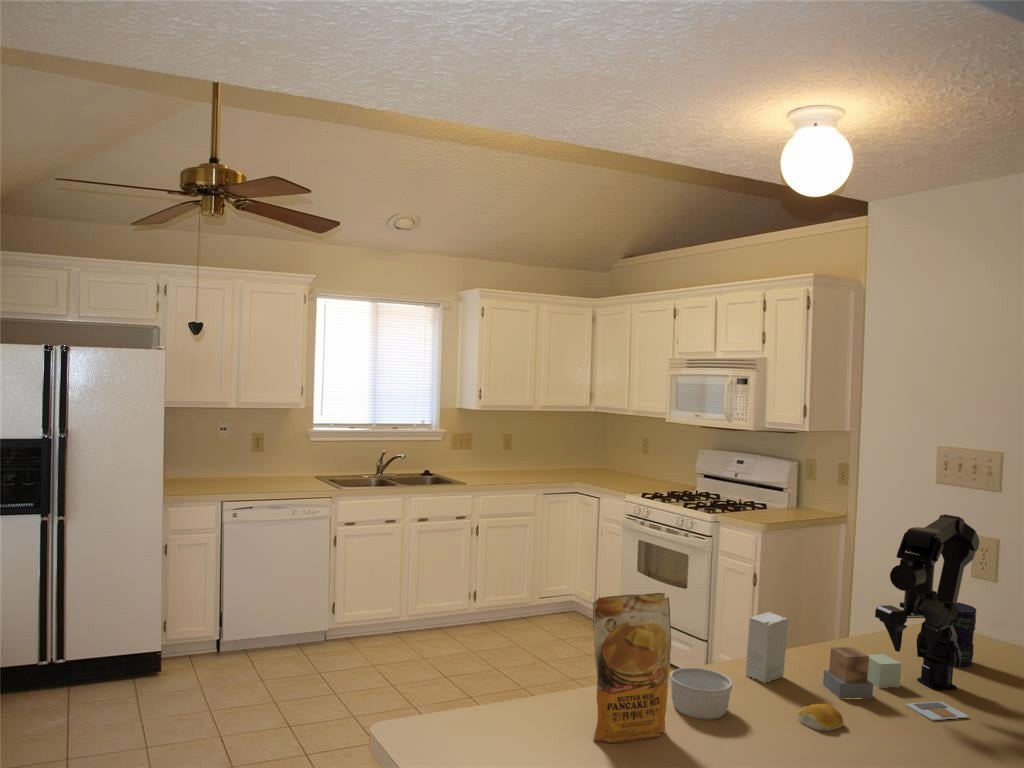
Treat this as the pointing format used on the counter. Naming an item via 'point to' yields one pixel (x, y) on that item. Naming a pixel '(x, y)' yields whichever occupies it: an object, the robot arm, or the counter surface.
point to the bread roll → (820, 717)
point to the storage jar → (965, 633)
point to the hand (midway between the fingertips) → (913, 650)
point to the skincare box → (766, 647)
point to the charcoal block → (847, 687)
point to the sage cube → (884, 671)
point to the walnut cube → (849, 664)
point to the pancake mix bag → (631, 666)
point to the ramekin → (700, 692)
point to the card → (937, 710)
